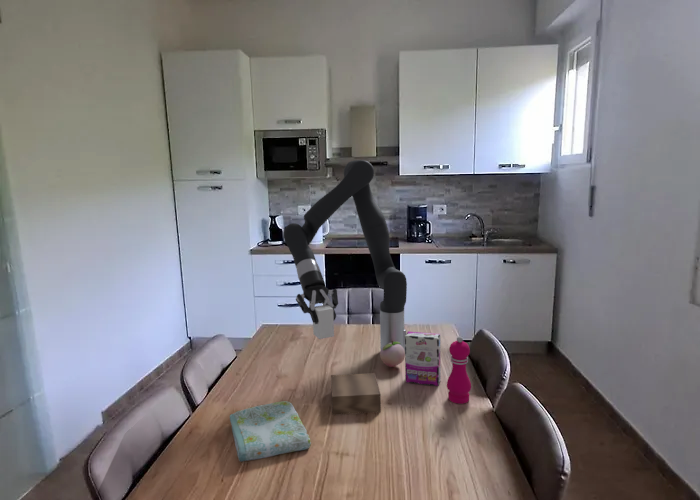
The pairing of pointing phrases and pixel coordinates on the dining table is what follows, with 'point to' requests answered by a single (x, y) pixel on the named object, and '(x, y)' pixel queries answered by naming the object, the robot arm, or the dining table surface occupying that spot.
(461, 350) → the pepper mill
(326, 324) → the pale grey block
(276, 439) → the towel
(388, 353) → the decorative fruit
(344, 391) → the walnut block
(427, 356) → the candy bar box
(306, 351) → the dining table surface
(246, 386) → the dining table surface
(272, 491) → the dining table surface
